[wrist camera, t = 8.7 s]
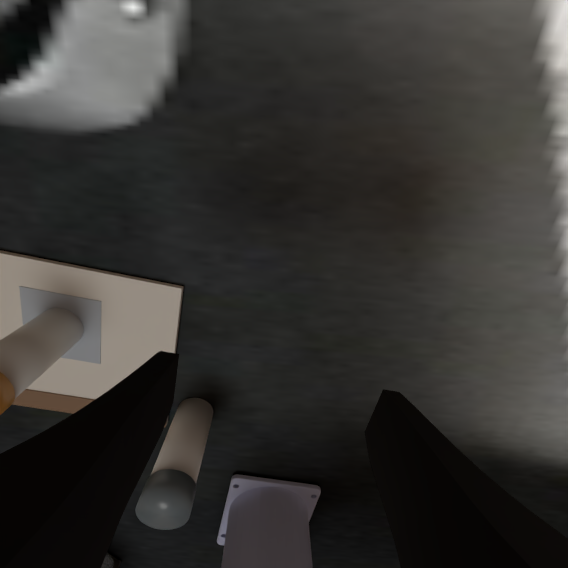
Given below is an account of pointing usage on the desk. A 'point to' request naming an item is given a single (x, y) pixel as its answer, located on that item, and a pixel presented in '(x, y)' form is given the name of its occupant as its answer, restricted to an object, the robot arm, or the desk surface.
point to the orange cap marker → (35, 350)
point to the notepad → (88, 325)
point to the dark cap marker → (176, 468)
